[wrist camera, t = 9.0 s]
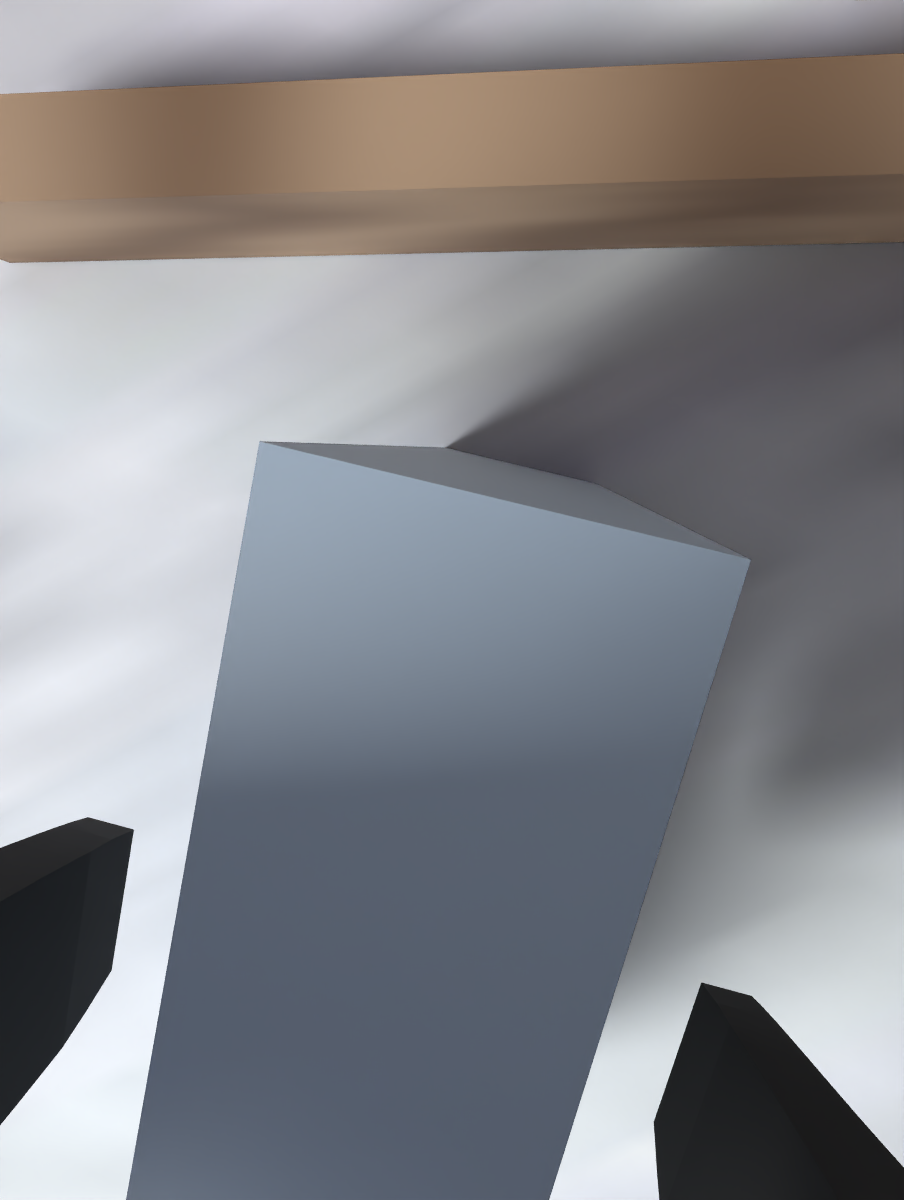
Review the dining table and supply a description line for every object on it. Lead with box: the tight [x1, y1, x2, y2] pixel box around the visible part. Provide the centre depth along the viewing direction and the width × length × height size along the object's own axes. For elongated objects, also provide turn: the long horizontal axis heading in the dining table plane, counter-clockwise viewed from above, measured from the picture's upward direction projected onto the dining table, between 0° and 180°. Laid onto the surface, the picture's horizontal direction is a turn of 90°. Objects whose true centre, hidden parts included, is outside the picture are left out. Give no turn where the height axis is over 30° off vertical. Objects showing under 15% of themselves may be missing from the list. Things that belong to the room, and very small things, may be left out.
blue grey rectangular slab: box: [126, 441, 751, 1200], centre depth 9 cm, size 2×12×9 cm, turn 167°
